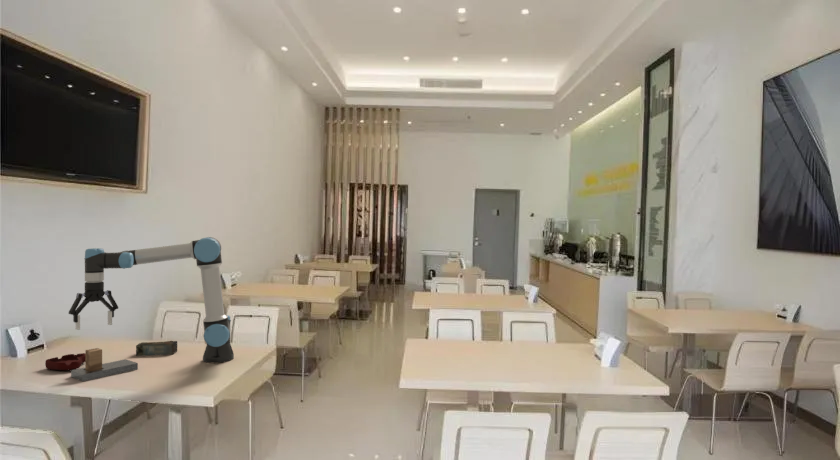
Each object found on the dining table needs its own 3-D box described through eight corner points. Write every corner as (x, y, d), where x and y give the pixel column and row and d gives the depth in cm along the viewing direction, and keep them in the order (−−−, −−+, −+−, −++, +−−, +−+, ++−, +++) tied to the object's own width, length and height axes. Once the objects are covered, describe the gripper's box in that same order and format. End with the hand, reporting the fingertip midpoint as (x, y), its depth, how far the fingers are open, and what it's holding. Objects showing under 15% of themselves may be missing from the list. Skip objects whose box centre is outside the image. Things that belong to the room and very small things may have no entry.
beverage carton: (141, 352, 277) (141, 340, 277) (178, 351, 280) (178, 339, 280) (135, 356, 269) (135, 344, 269) (173, 355, 272) (173, 343, 272)
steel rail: (137, 369, 245) (137, 363, 245) (82, 381, 225) (82, 374, 225) (125, 365, 251) (125, 359, 251) (71, 376, 232) (71, 370, 232)
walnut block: (102, 375, 235) (102, 349, 235) (90, 377, 231) (90, 351, 231) (97, 373, 238) (97, 348, 237) (85, 375, 233) (85, 350, 233)
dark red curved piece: (51, 364, 252) (51, 355, 252) (89, 362, 257) (89, 352, 257) (38, 374, 235) (38, 364, 235) (79, 371, 241) (79, 361, 241)
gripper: (118, 278, 246) (118, 321, 246) (60, 283, 226) (59, 330, 226) (126, 279, 242) (126, 323, 242) (67, 284, 221) (67, 332, 222)
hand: (94, 327), depth 234 cm, fingers open, 13 cm apart
